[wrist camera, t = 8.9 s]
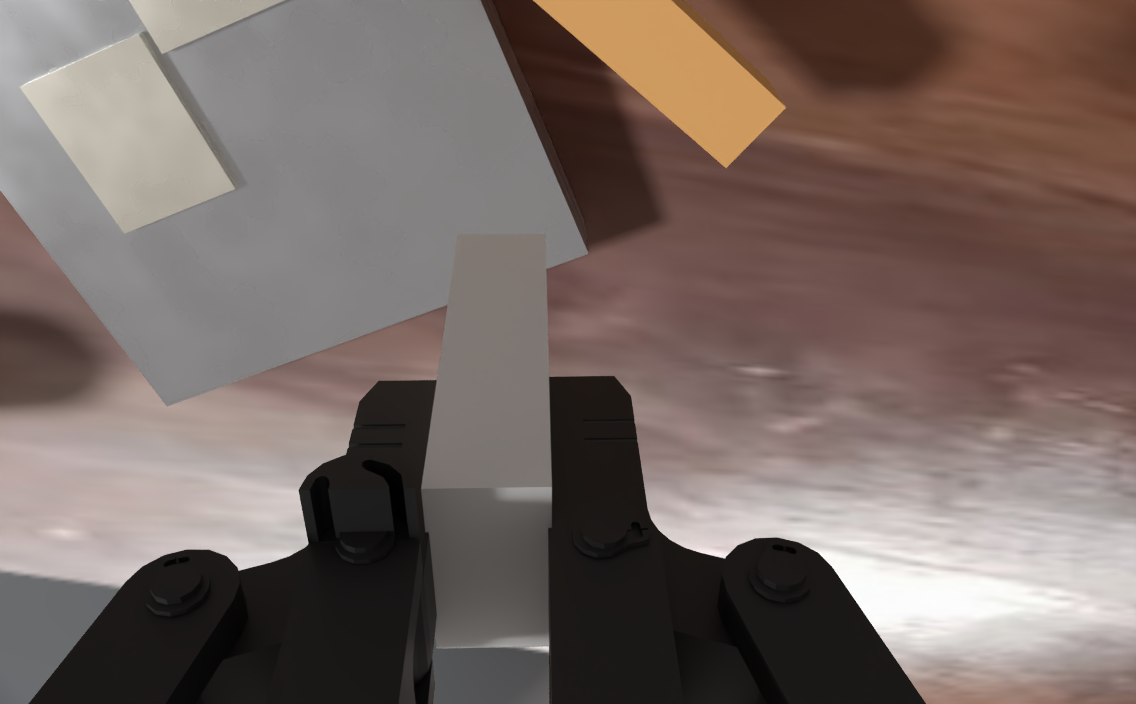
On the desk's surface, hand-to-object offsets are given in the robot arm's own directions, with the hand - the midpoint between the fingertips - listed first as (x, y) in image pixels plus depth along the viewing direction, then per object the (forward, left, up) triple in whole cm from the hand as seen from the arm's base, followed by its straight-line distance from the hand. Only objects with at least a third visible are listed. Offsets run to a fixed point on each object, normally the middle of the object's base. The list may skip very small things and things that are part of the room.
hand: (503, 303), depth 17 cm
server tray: (-4, -8, -16) cm, 18 cm away
